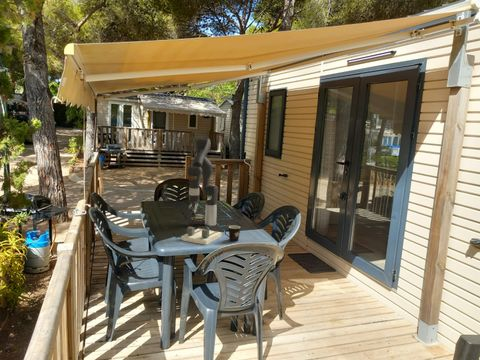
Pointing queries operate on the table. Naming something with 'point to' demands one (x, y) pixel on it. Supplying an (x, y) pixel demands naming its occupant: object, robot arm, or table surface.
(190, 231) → the slider
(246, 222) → the table surface
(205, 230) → the slider
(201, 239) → the switch panel
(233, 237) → the coffee mug
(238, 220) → the table surface
